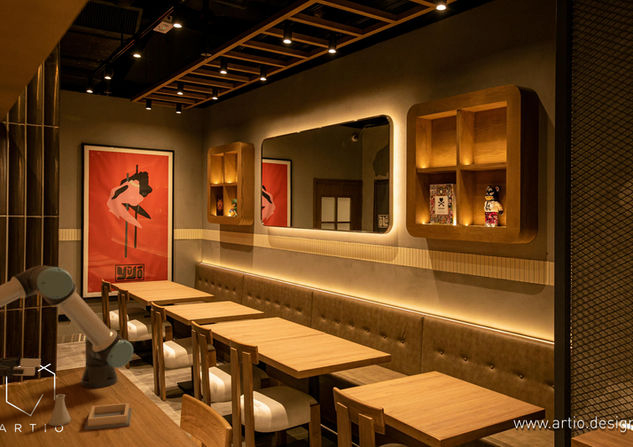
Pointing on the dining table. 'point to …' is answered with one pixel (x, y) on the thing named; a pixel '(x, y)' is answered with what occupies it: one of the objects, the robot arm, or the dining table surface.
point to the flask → (59, 412)
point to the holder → (109, 416)
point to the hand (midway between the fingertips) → (37, 367)
